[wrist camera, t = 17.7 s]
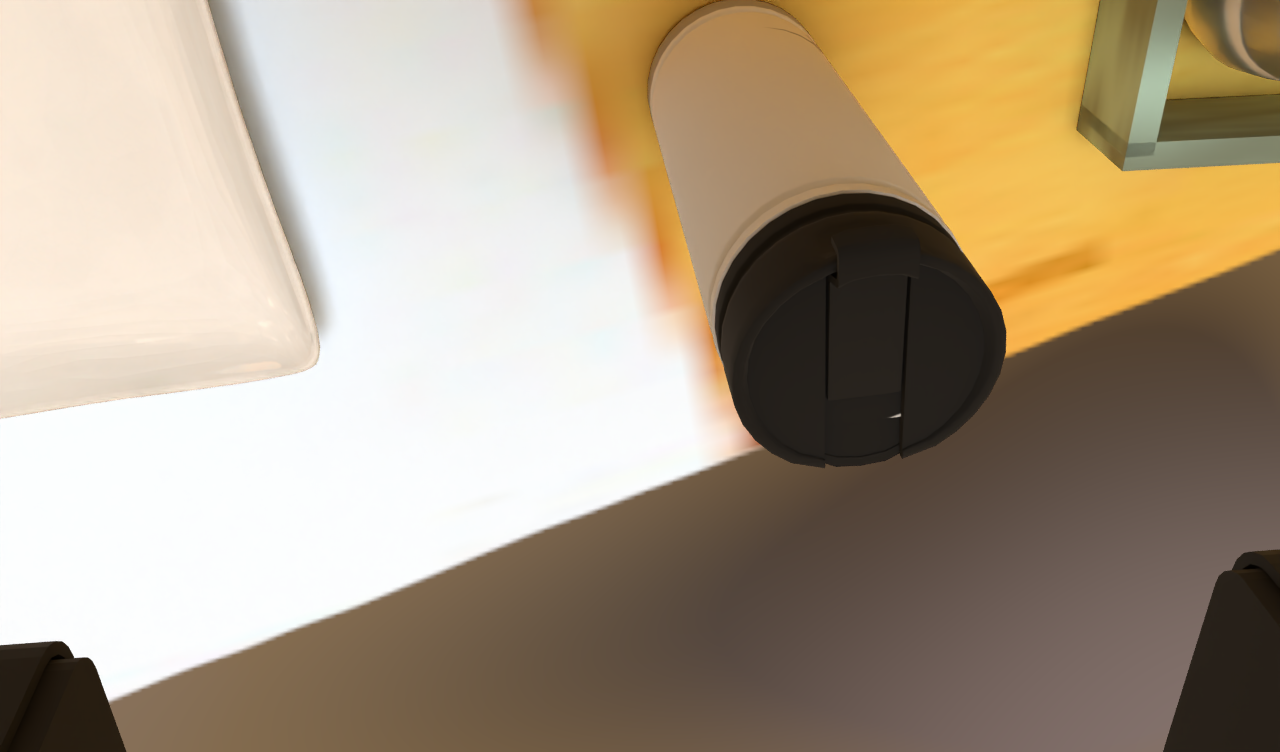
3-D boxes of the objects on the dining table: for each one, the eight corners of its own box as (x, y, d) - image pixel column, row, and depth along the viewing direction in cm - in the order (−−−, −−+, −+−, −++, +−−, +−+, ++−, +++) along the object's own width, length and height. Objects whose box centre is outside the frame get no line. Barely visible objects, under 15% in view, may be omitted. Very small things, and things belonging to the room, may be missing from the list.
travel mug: (820, -24, 41) (1033, 222, 24) (821, 157, 45) (1007, 482, 28) (638, -4, 41) (725, 257, 24) (653, 176, 44) (738, 515, 28)
